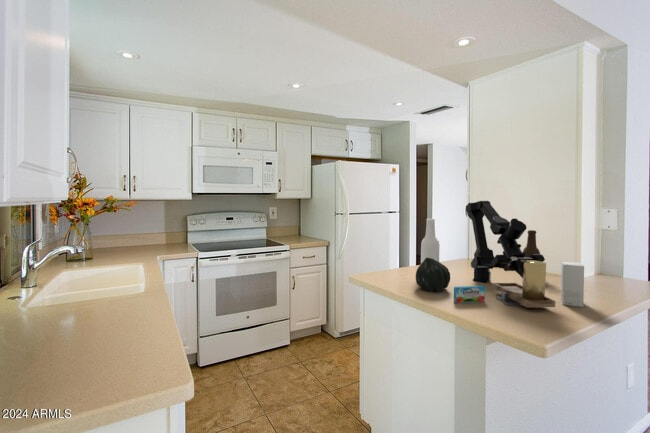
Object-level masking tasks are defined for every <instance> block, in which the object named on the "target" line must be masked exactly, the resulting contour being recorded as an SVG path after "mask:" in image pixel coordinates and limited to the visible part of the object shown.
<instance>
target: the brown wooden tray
mask: <svg viewBox="0 0 650 433" xmlns="http://www.w3.org/2000/svg"><path fill="white" fill-rule="evenodd" d="M522 288H523V284H520V283H518V282H492V289H494V291H495V290H496V291H497V292H498V293H501V294H502V292H506V293H508V297H509V298H511V299H513V300H515V301H516V302H518V303H520V304H522V305H521V306H524V307H525V308H556V300H553V299H552V298H550V297H548V296H545V299H544V300H526V299H524V298H522Z"/></svg>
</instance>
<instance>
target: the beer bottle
mask: <svg viewBox="0 0 650 433" xmlns="http://www.w3.org/2000/svg"><path fill="white" fill-rule="evenodd" d="M536 234H537V230H535V229H534V230H533V229H529V230H528V231H527V241H526V245H525V248H523V251H522V253H525V254H526V255H525V256H524V258H529V257H530V256H531V255H532V254H541V252H540V250H539V248H538V247H537V235H536Z"/></svg>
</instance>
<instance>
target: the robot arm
mask: <svg viewBox="0 0 650 433" xmlns="http://www.w3.org/2000/svg"><path fill="white" fill-rule="evenodd" d="M465 211H466V214H467V217H468V218H469V220H471V224H472V227H473V228H472V229H473V234H474V241H475V246H476V249H475V252H474V253H473V256H474V257H473V259H472V260H471V262H470V267H471V268H472V269H473V279H472V281H474V282H481V283H489V282H490V281H491V278H492V277H491V274H492V272H491V271H490V269H491V270H492V269H494V268H496V269H498V268H499V269H502V270H503V271H505V272H516V273H517V275H519V276H520V277H521V278H522V279H523V265H524V261H525V260H534V261H541V262H545V260H546V259H545V257H544V255H543V254H541V253H540V254H532V255H531V256H530V257H529V258H524V256H525V255H526V254H525V253H522V252H523V251H522V249H521V247H522V244H519V243H518V242H517V240H519V239H520V238H521V237H522V235H523V234H524V232H525V231H527V229H528V228H527V225H526V223H524V222H522V221H521V220H519V219H518V218H511V220H510V221H509V220H508V219H507V218H505V217H502V216H500V214H499V213H498V212H497V211H496V209H495V208H494V206H493V205H491V201H489V200H478V201H476V202H468V204H466V206H465ZM484 217H485V218H486V220H487V221H488V222H489V224H490V225H489V228H490V230H491V233H492V234H493V235H495V236H496V235H497V236H499V235H500V236H499V237H498V240H497V241H496V243H497V244H500V245H501V247H502V249H503V251H502V254H496V255H494V251H493V249H490V248H489V246H488V242H487V235H486V229H485V226H484V225H485V223H484Z"/></svg>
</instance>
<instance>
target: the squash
mask: <svg viewBox="0 0 650 433" xmlns="http://www.w3.org/2000/svg"><path fill="white" fill-rule="evenodd" d="M450 281H451V273H450V270H449V269H448V267H447V266H446V265H444V264H443V263H442V262H440V261H439V262H438V261H436V260H434V259H432V258H426V259H425V260H424V261H423V262H422V264H421V263H420V265H418V267H417V269H416V272H415V282H416V284H417V286H418V287H420V289H422V290H425V291H429V292H434V291H435V292H437V293H439V292H441V291H442V290H444V289H447V288H448V287H449V284H450V283H451V282H450Z"/></svg>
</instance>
